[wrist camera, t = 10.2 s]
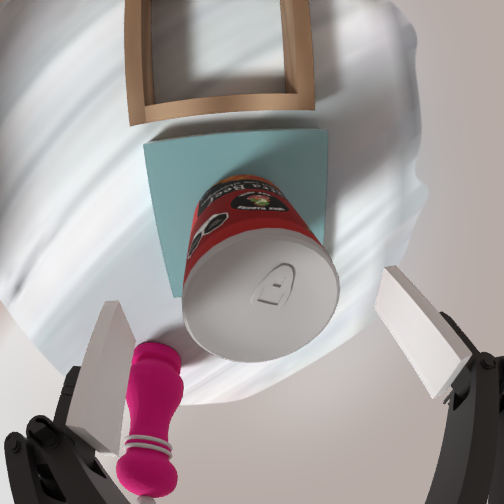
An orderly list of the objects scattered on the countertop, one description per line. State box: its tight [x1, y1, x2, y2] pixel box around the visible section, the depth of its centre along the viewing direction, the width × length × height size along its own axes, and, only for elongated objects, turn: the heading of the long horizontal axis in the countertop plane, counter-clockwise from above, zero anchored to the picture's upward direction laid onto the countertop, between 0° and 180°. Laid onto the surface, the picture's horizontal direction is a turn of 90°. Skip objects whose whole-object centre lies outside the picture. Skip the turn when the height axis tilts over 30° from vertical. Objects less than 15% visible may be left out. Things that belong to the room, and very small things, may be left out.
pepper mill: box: [116, 342, 184, 504], centre depth 23 cm, size 7×7×20 cm
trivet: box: [143, 128, 328, 297], centre depth 23 cm, size 14×14×2 cm
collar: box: [124, 0, 315, 126], centre depth 15 cm, size 13×13×4 cm
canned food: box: [182, 175, 340, 363], centre depth 18 cm, size 8×8×11 cm
